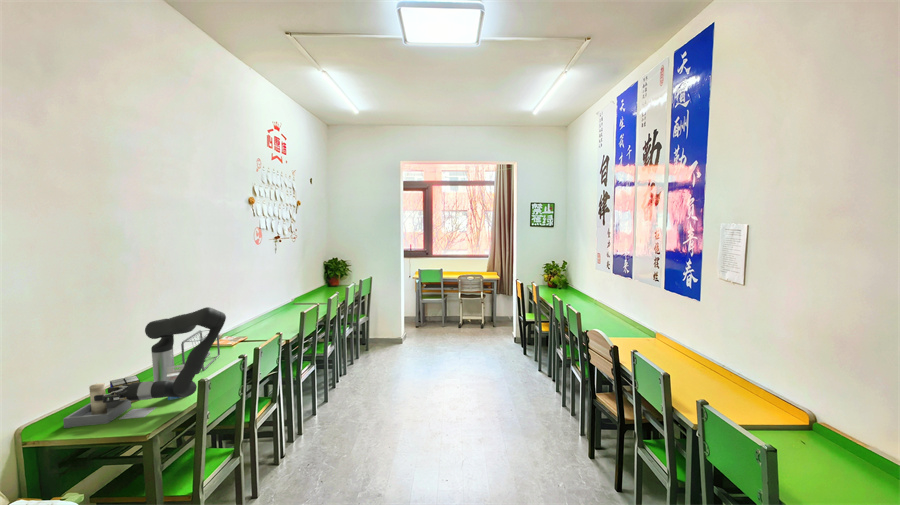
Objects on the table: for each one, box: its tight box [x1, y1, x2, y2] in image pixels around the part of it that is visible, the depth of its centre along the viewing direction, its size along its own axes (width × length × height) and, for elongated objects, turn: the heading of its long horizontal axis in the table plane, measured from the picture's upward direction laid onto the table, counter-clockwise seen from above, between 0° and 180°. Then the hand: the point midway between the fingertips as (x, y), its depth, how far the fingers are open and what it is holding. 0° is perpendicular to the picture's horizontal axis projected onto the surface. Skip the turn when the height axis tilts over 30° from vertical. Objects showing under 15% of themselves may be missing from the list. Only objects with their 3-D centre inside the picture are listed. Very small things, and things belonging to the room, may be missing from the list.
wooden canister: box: [88, 382, 107, 415], centre depth 177 cm, size 5×5×13 cm
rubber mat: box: [117, 406, 158, 420], centre depth 179 cm, size 10×10×1 cm
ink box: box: [167, 364, 185, 401], centre depth 196 cm, size 8×5×15 cm, turn 123°
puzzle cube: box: [109, 375, 141, 403], centre depth 194 cm, size 10×10×10 cm
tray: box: [62, 399, 132, 429], centre depth 177 cm, size 16×16×4 cm
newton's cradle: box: [180, 329, 221, 371], centre depth 245 cm, size 30×10×18 cm, turn 13°
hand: (101, 394), depth 177 cm, fingers open, 8 cm apart
